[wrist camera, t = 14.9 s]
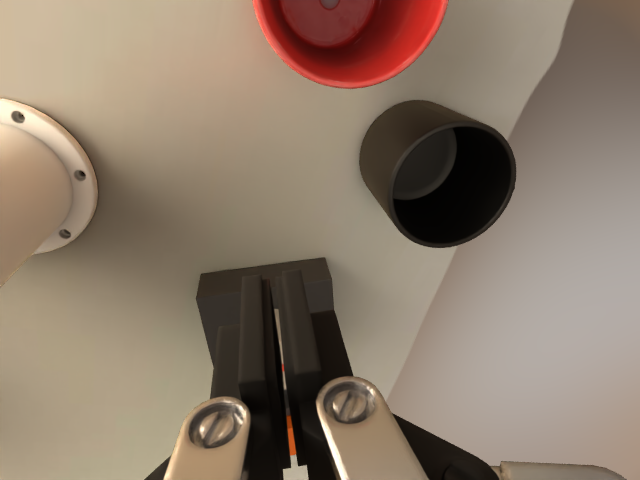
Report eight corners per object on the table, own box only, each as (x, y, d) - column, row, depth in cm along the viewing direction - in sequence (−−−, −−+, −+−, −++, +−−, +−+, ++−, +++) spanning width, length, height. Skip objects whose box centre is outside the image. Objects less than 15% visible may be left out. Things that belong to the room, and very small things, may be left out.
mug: (463, 213, 41) (515, 259, 33) (347, 195, 38) (372, 240, 30) (501, 116, 37) (571, 141, 29) (374, 88, 34) (411, 108, 26)
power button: (270, 445, 47) (270, 459, 46) (265, 418, 45) (265, 432, 43) (308, 438, 47) (310, 452, 46) (305, 411, 45) (307, 425, 44)
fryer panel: (219, 353, 44) (216, 382, 40) (200, 273, 39) (195, 299, 36) (330, 336, 45) (337, 363, 42) (325, 257, 40) (332, 279, 37)
